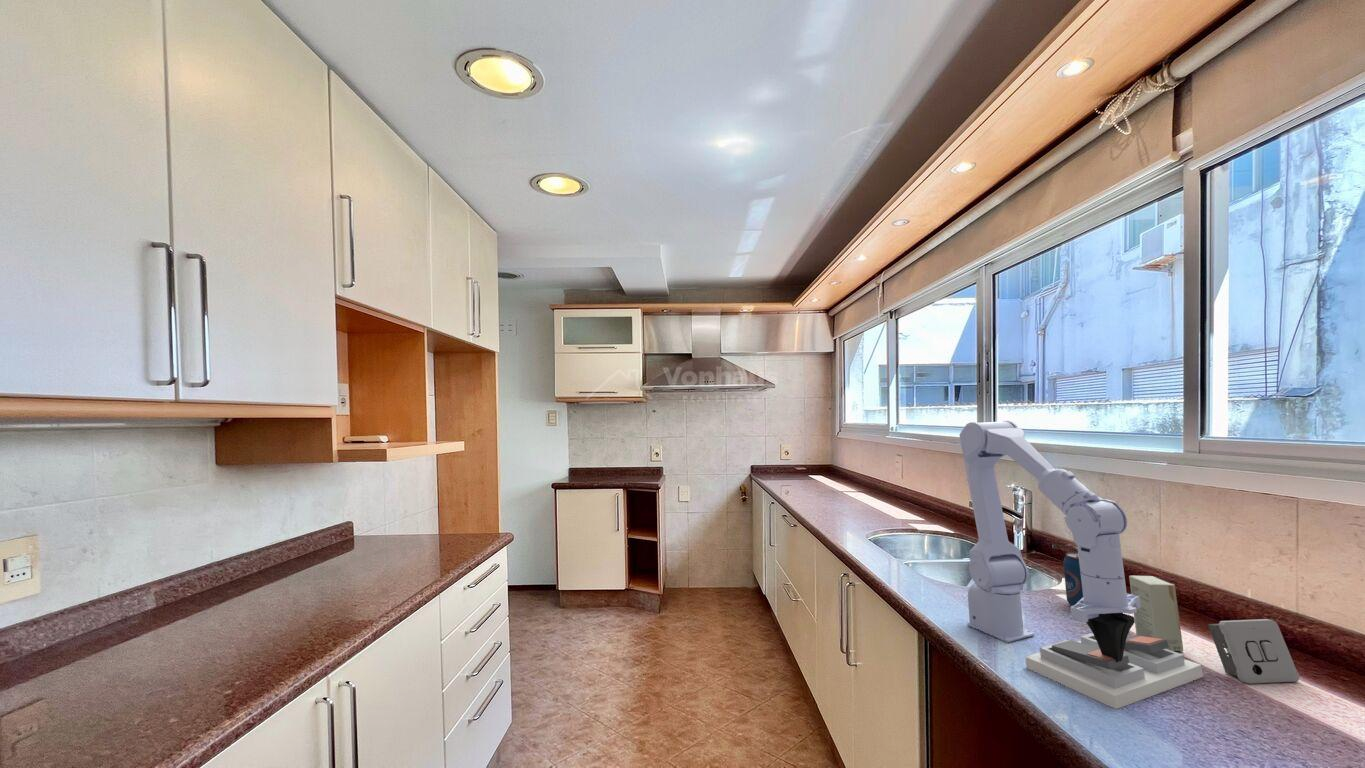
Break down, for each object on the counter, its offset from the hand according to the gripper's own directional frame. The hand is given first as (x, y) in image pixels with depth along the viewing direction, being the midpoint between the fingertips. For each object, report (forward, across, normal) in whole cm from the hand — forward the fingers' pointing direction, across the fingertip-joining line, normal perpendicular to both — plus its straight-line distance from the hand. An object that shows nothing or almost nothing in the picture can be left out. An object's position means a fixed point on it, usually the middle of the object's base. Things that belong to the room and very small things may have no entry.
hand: (1112, 659), depth 82 cm
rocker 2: (0, +11, +4) cm, 12 cm away
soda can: (+4, +32, +24) cm, 40 cm away
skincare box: (+5, +25, +7) cm, 26 cm away
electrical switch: (+5, +25, -6) cm, 26 cm away
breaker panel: (+5, +6, +4) cm, 8 cm away
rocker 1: (+1, 0, +4) cm, 4 cm away
